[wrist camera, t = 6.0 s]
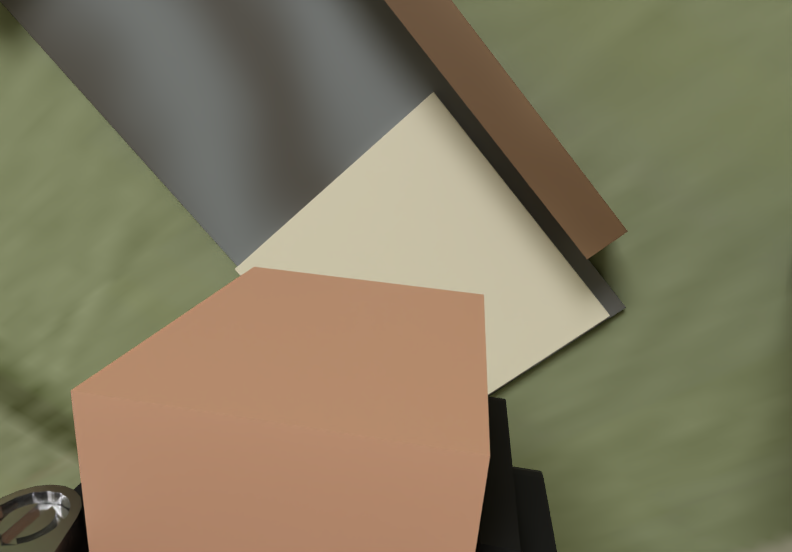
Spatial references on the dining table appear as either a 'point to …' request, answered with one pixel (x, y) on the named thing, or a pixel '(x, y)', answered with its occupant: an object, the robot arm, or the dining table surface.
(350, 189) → the pad
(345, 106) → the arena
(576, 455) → the dining table surface
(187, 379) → the block
